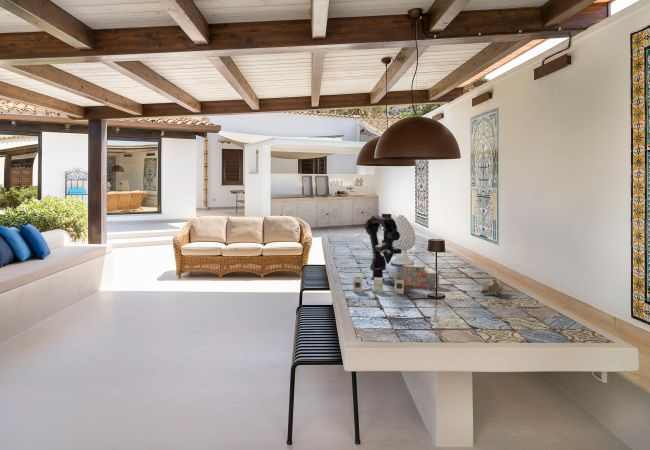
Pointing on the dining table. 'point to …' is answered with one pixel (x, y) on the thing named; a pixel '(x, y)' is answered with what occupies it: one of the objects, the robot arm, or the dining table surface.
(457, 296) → the dining table surface
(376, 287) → the plain block
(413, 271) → the stack of blocks
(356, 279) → the marked block 1
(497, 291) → the ceramic sculpture
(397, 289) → the marked block 2
